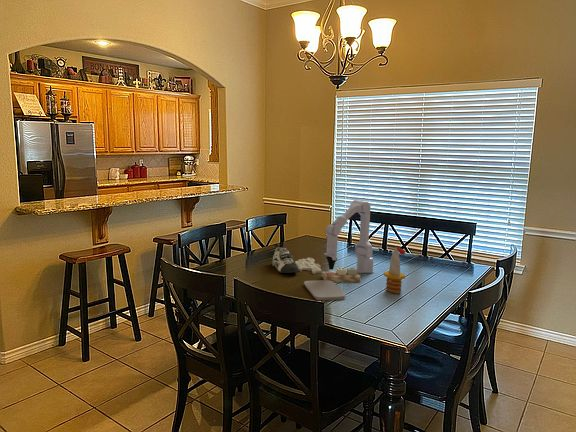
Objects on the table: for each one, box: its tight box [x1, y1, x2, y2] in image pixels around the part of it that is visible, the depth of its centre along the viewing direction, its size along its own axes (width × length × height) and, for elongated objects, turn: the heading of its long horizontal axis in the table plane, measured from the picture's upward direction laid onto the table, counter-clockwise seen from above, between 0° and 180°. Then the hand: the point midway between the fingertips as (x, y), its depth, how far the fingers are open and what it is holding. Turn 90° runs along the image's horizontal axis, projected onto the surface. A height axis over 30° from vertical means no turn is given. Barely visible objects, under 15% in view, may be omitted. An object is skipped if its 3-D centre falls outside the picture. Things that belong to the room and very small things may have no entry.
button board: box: [321, 270, 361, 283], centre depth 250 cm, size 20×10×3 cm, turn 97°
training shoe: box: [271, 247, 299, 274], centre depth 265 cm, size 11×29×13 cm, turn 24°
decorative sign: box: [294, 257, 323, 275], centre depth 273 cm, size 31×2×15 cm
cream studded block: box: [336, 267, 347, 275], centre depth 249 cm, size 4×4×3 cm
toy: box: [383, 246, 406, 294], centre depth 228 cm, size 9×24×15 cm
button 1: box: [346, 267, 357, 275], centre depth 250 cm, size 4×4×3 cm
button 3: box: [325, 271, 335, 275], centre depth 249 cm, size 4×4×3 cm
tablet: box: [303, 279, 347, 301], centre depth 228 cm, size 16×26×2 cm, turn 13°
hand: (331, 269), depth 248 cm, fingers closed
